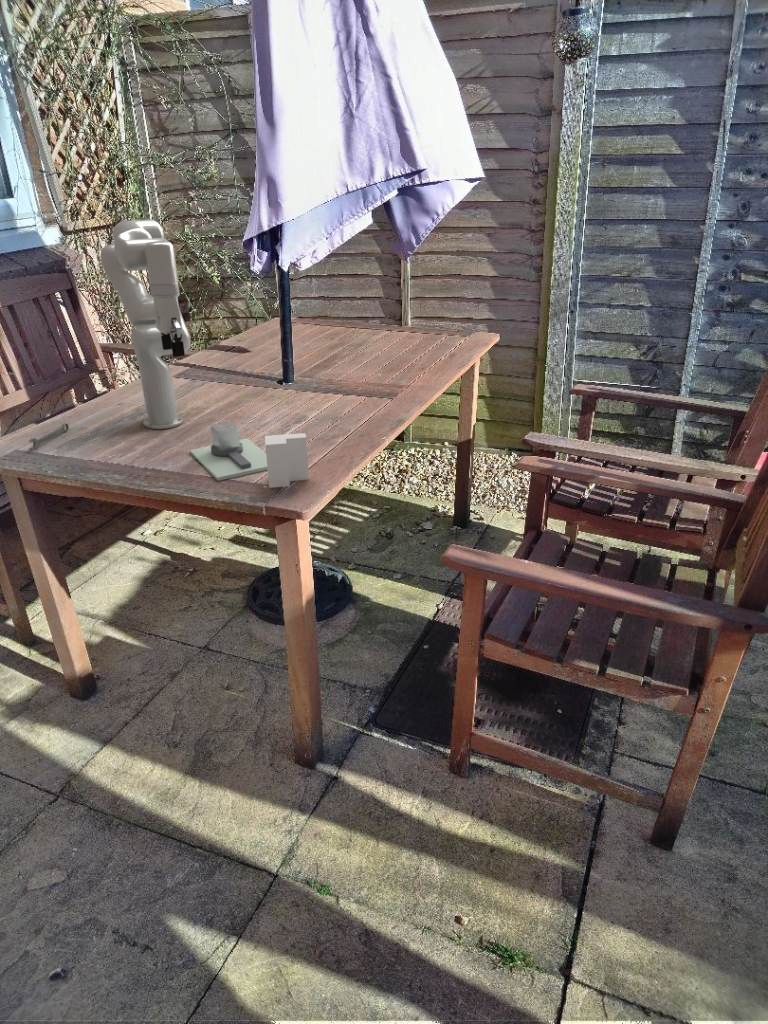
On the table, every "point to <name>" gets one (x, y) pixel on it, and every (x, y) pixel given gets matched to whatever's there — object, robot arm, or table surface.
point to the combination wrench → (48, 436)
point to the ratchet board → (232, 460)
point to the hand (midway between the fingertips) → (173, 352)
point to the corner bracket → (286, 459)
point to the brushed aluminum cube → (225, 436)
